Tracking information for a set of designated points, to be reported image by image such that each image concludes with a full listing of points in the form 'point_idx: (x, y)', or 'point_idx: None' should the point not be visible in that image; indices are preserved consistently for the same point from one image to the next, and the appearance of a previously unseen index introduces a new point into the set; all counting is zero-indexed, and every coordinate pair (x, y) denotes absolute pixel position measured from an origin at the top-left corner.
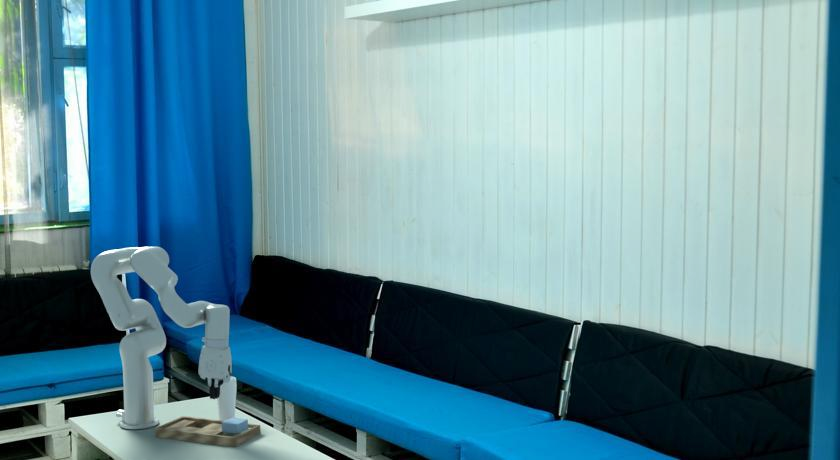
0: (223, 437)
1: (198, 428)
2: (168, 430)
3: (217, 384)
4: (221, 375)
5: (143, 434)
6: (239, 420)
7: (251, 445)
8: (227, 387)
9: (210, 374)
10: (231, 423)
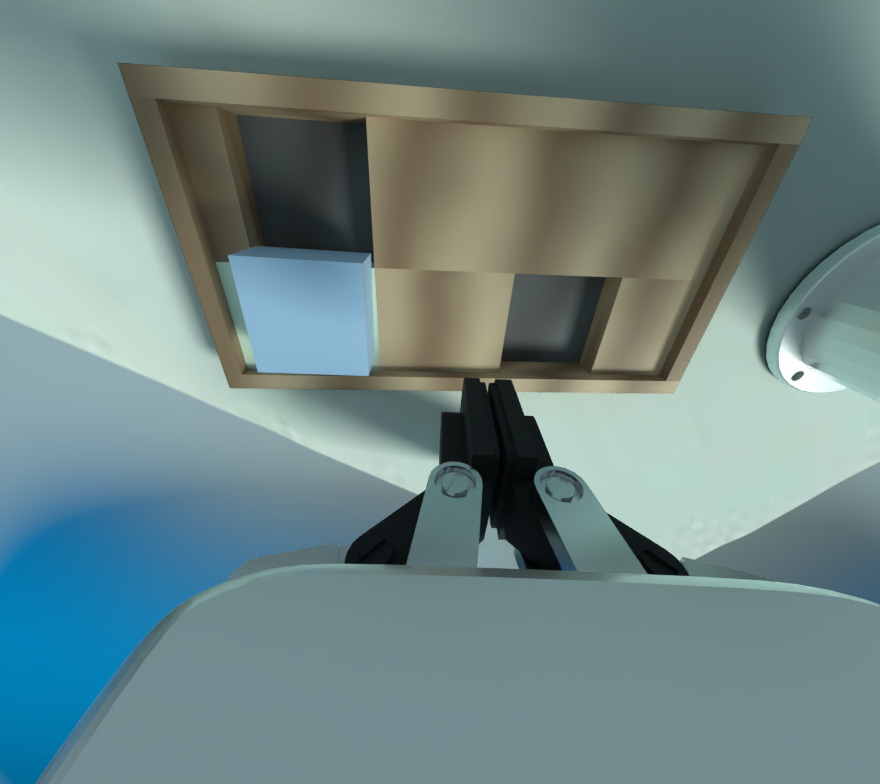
0: (235, 74)
1: (530, 264)
2: (705, 111)
3: (427, 498)
4: (164, 715)
5: (836, 153)
6: (286, 340)
7: (114, 162)
8: None
9: (607, 688)
10: (282, 262)
